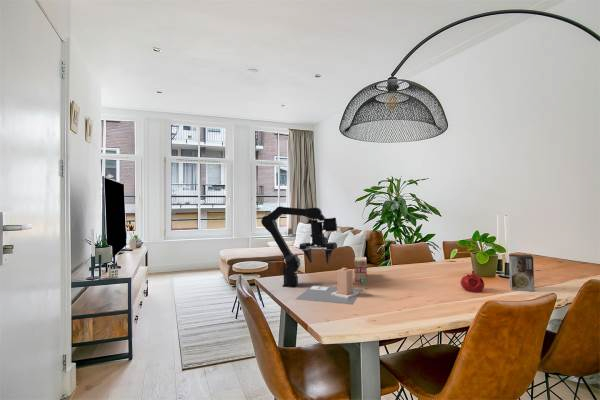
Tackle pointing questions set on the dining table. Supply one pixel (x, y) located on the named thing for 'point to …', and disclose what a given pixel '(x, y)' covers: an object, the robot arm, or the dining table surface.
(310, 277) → the dining table surface
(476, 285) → the pomegranate
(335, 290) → the board
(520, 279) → the coffee box
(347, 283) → the column block
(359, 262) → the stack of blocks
